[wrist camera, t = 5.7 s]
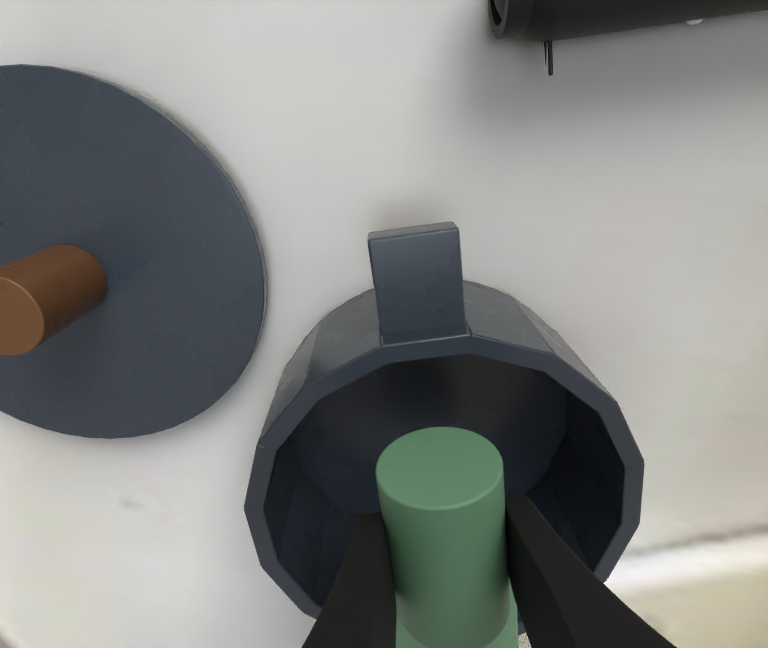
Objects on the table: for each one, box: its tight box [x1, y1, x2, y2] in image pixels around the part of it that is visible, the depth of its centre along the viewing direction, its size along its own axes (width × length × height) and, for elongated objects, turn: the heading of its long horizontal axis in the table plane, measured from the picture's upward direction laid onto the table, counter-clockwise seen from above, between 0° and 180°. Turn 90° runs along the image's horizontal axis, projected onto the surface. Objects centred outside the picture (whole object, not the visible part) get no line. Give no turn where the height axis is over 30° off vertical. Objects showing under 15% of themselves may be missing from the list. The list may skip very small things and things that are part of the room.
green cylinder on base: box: [375, 427, 518, 648], centre depth 13 cm, size 8×4×3 cm, turn 7°
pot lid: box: [0, 64, 267, 439], centre depth 16 cm, size 13×13×5 cm
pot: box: [244, 222, 644, 635], centre depth 18 cm, size 12×18×6 cm
